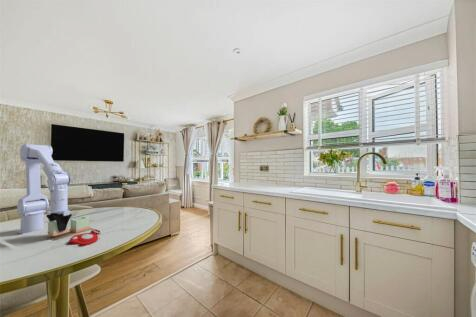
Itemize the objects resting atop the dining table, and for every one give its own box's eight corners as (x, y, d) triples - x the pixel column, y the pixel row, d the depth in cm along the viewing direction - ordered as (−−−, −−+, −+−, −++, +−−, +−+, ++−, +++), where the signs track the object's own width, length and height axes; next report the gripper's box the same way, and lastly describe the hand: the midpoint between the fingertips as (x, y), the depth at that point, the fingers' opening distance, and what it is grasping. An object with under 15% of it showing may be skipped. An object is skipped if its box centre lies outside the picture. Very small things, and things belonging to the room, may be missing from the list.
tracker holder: (97, 241, 76) (66, 241, 71) (95, 251, 76) (63, 251, 71) (103, 226, 86) (76, 225, 81) (100, 235, 86) (74, 234, 81)
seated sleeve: (70, 230, 88) (70, 219, 89) (83, 227, 94) (83, 216, 94) (76, 232, 86) (76, 220, 86) (90, 228, 91) (89, 217, 91)
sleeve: (47, 234, 81) (47, 221, 81) (63, 230, 86) (63, 218, 86) (53, 236, 79) (53, 223, 79) (69, 231, 84) (69, 219, 84)
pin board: (43, 239, 81) (43, 229, 82) (83, 228, 95) (83, 219, 95) (53, 242, 77) (53, 232, 77) (94, 230, 91) (94, 221, 91)
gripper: (39, 200, 82) (39, 230, 82) (54, 202, 76) (54, 235, 76) (60, 197, 89) (60, 225, 88) (75, 199, 83) (75, 229, 82)
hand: (59, 229), depth 83 cm, fingers closed on sleeve, 5 cm apart
